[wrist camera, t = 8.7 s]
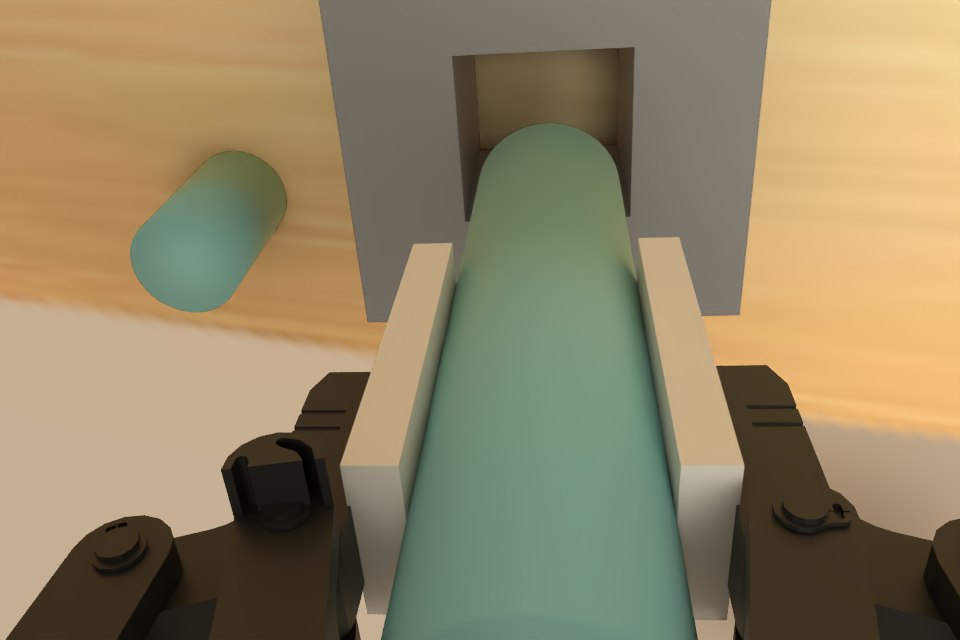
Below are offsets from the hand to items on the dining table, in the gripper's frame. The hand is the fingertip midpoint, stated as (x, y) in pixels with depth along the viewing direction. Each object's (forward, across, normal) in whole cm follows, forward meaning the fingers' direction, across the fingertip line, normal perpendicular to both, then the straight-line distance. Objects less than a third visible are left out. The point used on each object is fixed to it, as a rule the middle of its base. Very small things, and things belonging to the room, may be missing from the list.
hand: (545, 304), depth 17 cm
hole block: (+16, 0, 0) cm, 16 cm away
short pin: (+16, -12, -4) cm, 20 cm away
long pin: (+6, 0, 0) cm, 6 cm away
